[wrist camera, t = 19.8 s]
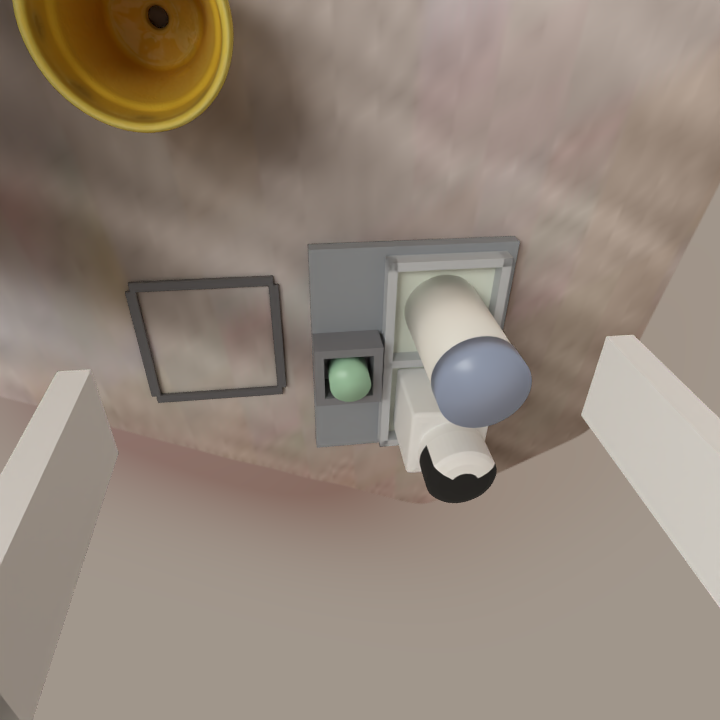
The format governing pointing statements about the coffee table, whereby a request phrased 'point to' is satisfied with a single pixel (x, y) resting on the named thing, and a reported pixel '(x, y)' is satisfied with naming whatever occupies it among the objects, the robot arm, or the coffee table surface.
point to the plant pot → (131, 57)
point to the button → (348, 378)
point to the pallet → (386, 318)
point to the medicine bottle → (439, 443)
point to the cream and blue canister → (465, 353)
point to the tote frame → (206, 284)
